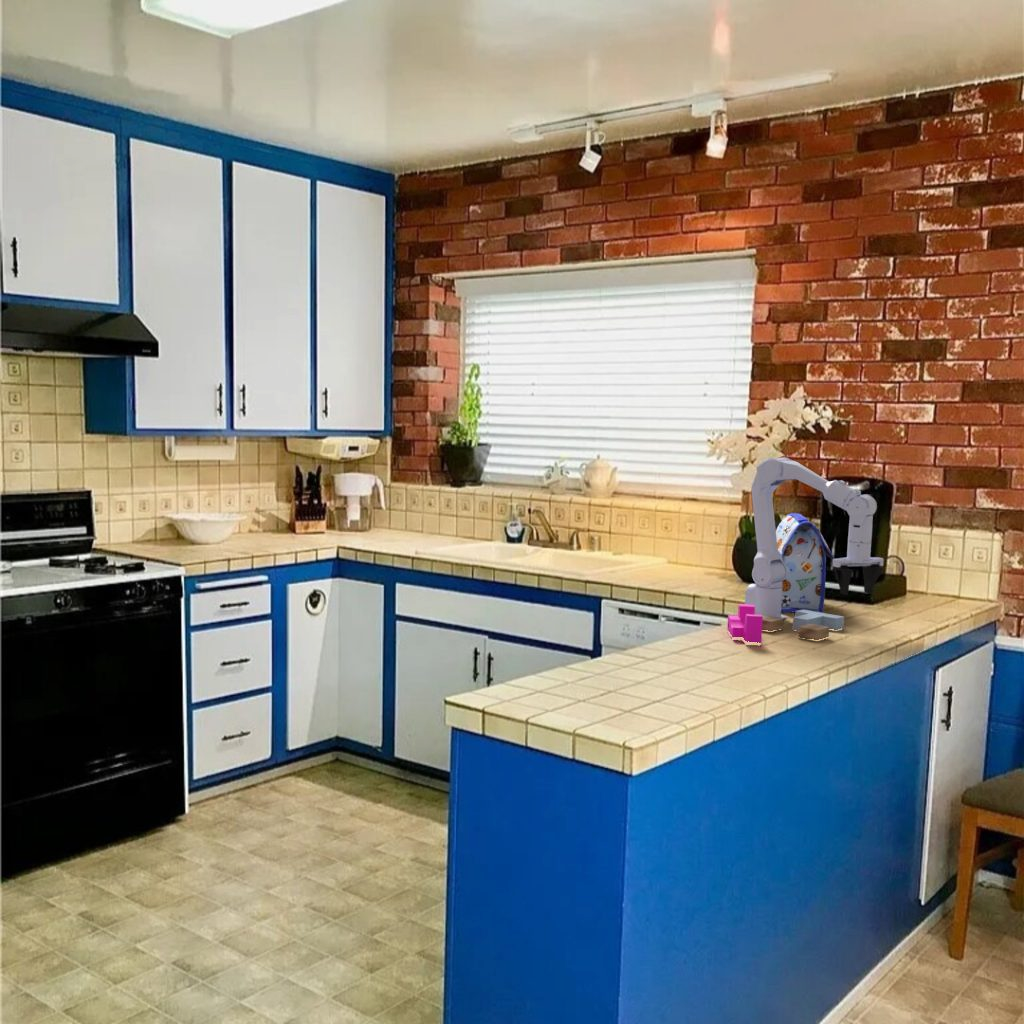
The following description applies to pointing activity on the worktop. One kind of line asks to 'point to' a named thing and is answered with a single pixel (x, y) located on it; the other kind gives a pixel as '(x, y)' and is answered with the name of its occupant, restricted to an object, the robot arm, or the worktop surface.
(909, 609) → the worktop surface
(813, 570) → the lunch bag
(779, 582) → the robot arm
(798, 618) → the T block
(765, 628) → the walnut slot
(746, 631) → the toy block
